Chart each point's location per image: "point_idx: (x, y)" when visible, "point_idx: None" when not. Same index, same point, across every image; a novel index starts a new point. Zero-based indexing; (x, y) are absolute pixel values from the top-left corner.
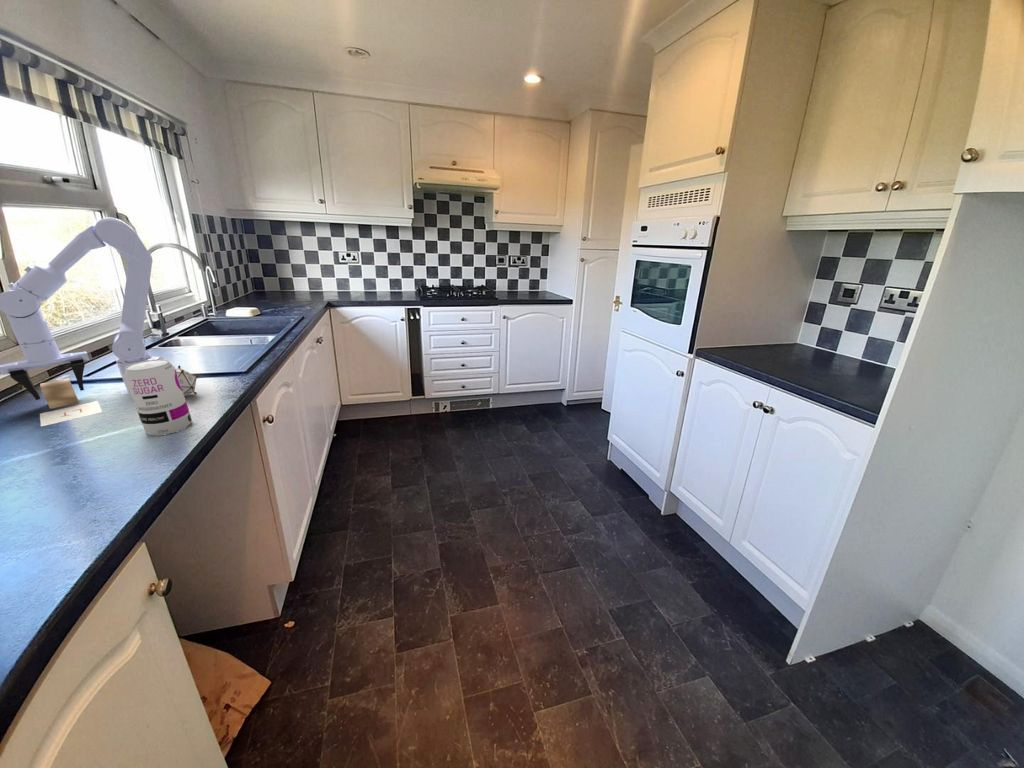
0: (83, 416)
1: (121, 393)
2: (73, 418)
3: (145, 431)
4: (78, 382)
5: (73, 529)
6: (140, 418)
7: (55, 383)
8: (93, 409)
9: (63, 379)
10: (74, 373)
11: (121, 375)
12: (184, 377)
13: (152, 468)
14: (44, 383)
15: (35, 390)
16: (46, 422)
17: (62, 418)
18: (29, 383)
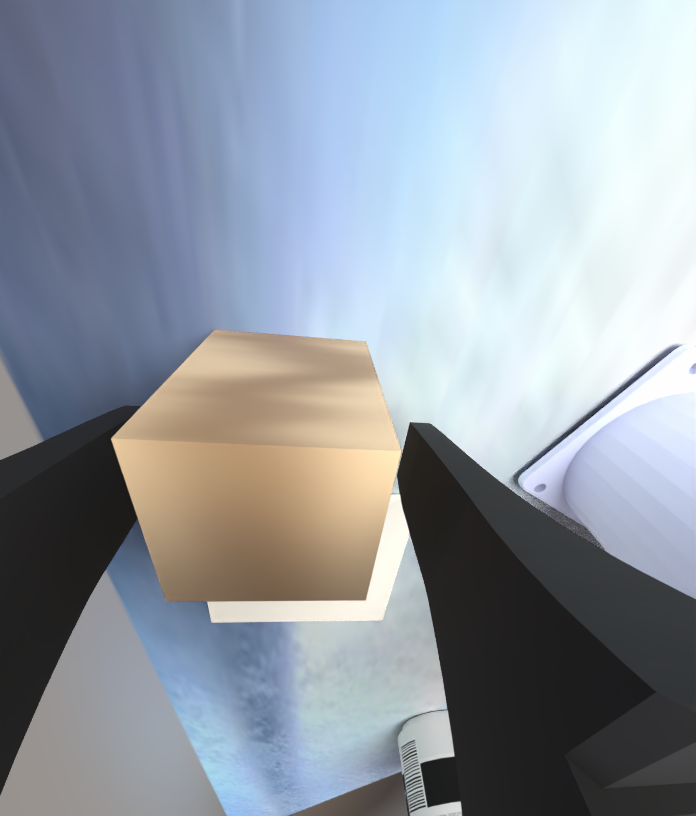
0: (329, 620)
1: (534, 477)
2: (302, 618)
3: (398, 740)
4: (419, 549)
5: (269, 804)
6: (405, 788)
7: (268, 541)
8: (370, 585)
9: (347, 453)
10: (444, 678)
11: (667, 560)
12: None
13: (358, 775)
14: (162, 468)
15: (114, 516)
16: (225, 604)
17: (272, 601)
18: (46, 656)
